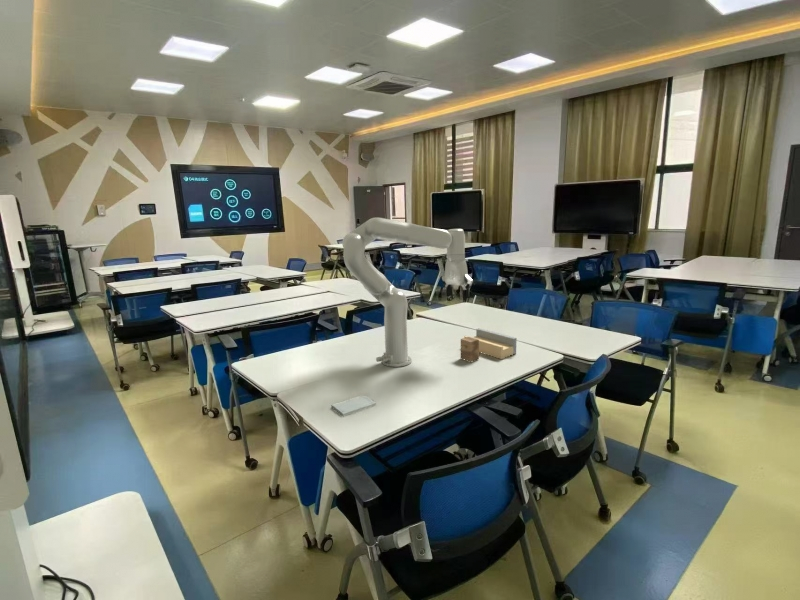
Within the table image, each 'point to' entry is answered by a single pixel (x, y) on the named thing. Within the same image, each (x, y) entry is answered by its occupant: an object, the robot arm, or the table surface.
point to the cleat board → (495, 343)
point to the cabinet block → (469, 349)
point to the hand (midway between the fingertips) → (457, 297)
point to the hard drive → (353, 405)
